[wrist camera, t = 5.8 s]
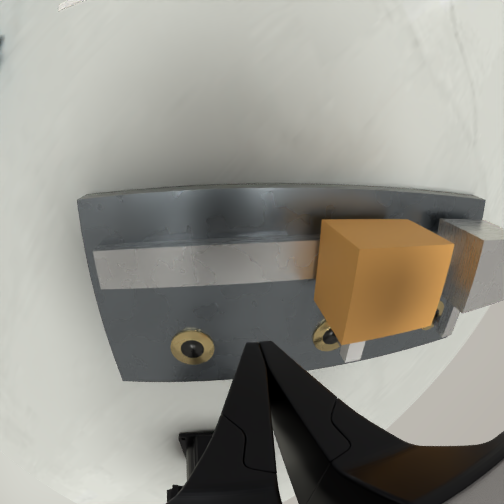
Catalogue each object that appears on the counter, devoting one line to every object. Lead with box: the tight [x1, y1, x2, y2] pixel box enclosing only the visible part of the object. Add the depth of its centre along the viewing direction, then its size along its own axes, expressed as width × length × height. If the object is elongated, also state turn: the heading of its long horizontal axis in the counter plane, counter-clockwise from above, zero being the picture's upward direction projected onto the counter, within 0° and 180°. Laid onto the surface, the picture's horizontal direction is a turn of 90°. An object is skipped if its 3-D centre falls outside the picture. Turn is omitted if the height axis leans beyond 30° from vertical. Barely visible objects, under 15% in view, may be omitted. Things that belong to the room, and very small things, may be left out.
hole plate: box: [77, 184, 504, 382], centre depth 17 cm, size 14×30×7 cm, turn 90°
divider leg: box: [314, 219, 454, 363], centre depth 16 cm, size 10×6×5 cm, turn 0°
